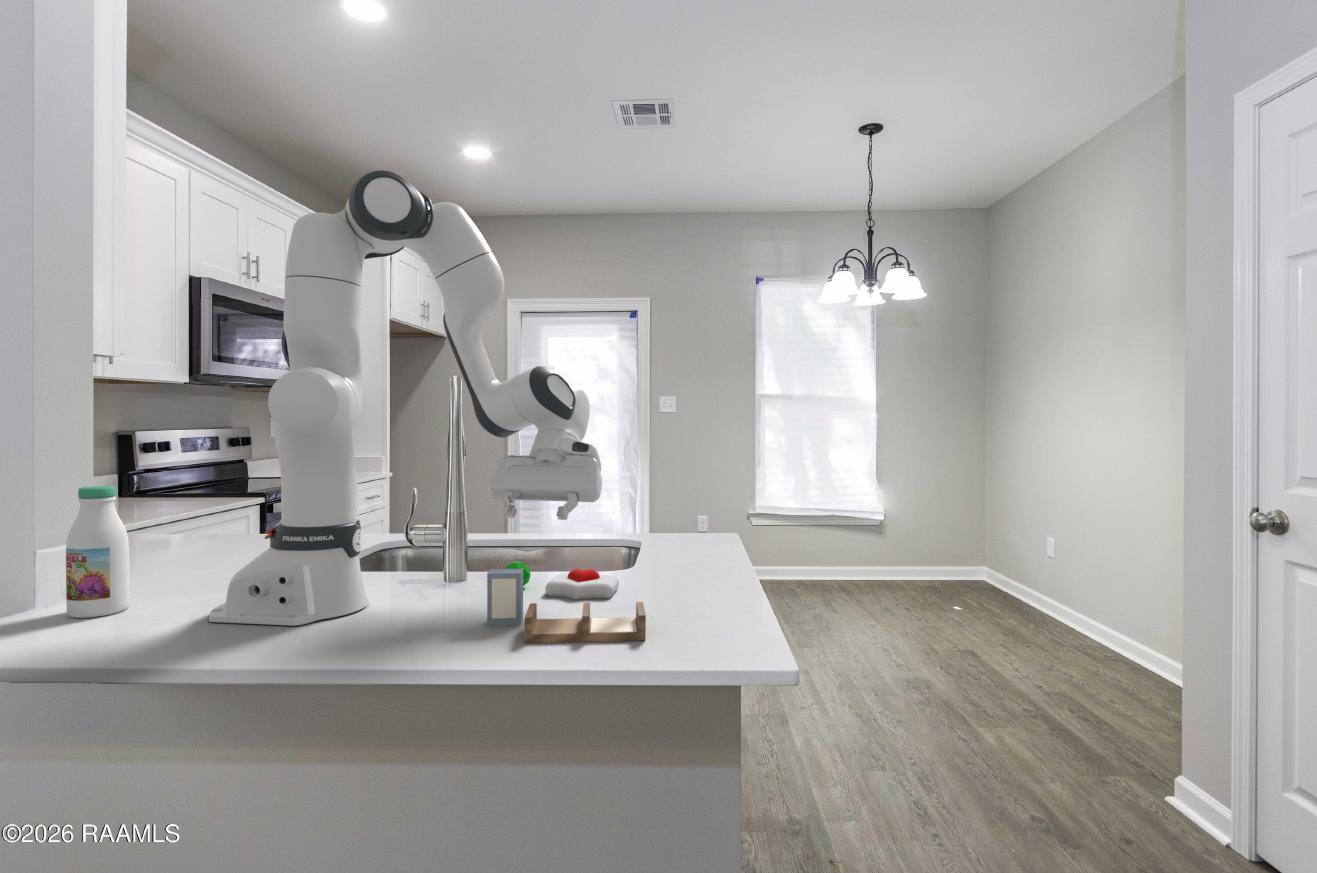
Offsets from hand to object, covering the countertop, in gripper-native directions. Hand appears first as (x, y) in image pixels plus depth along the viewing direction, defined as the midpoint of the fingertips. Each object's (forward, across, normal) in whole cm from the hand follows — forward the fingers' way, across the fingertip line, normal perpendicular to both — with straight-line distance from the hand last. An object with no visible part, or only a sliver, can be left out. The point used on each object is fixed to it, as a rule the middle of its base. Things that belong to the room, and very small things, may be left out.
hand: (535, 516), depth 114 cm
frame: (+19, 0, +2) cm, 19 cm away
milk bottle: (+25, -65, -4) cm, 70 cm away
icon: (+6, +6, +15) cm, 18 cm away
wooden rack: (+21, +14, 0) cm, 25 cm away
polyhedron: (+5, -6, +16) cm, 18 cm away
